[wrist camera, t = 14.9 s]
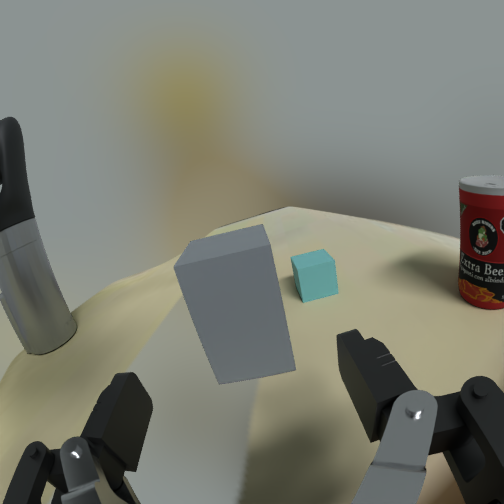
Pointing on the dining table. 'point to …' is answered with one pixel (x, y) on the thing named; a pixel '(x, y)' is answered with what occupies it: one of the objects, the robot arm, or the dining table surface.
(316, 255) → the teal block
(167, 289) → the dining table surface
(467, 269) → the canned food
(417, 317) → the dining table surface
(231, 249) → the tall grey pillar block
